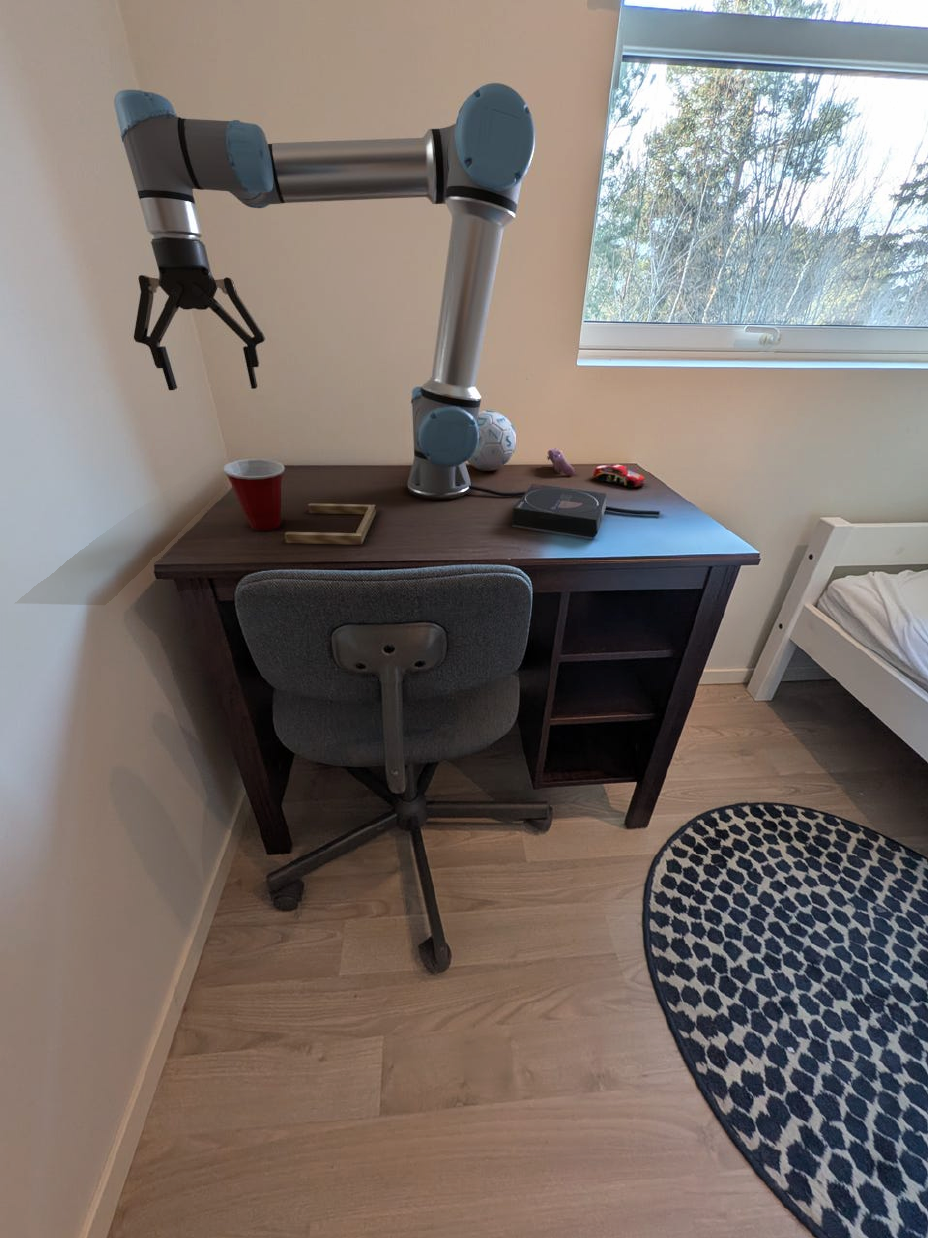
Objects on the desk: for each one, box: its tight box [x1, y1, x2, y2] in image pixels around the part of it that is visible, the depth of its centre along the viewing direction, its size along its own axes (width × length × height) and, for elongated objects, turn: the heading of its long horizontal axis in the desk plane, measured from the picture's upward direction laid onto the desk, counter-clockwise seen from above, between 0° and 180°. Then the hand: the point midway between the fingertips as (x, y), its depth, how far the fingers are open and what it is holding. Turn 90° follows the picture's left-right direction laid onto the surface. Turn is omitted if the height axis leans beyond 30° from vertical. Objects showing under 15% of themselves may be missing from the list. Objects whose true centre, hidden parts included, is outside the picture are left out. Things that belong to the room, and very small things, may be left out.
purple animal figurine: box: [546, 447, 575, 476], centre depth 130 cm, size 10×5×7 cm, turn 5°
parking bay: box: [284, 502, 377, 546], centre depth 96 cm, size 14×16×2 cm
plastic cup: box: [222, 458, 286, 532], centre depth 93 cm, size 11×11×12 cm
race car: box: [593, 463, 646, 489], centre depth 122 cm, size 13×5×4 cm, turn 50°
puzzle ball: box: [466, 409, 517, 472], centre depth 127 cm, size 15×15×15 cm
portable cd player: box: [511, 483, 608, 540], centre depth 101 cm, size 16×17×4 cm
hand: (214, 388), depth 86 cm, fingers open, 13 cm apart
